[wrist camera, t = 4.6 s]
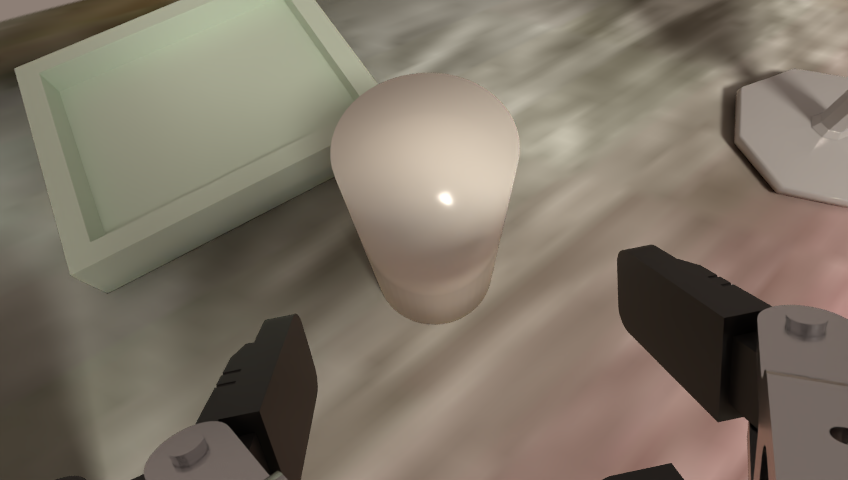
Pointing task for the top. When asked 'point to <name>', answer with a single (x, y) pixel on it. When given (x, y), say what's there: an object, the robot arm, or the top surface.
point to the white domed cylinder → (428, 189)
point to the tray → (185, 127)
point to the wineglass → (797, 133)
